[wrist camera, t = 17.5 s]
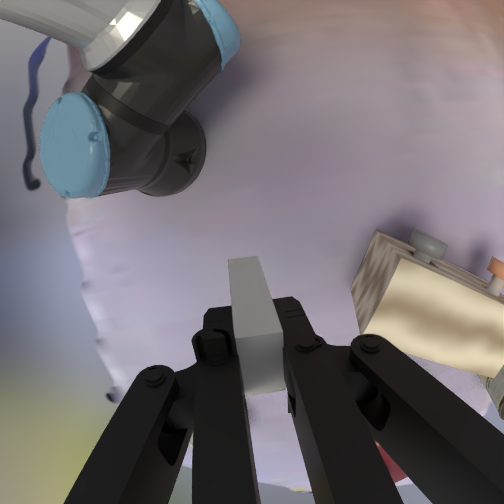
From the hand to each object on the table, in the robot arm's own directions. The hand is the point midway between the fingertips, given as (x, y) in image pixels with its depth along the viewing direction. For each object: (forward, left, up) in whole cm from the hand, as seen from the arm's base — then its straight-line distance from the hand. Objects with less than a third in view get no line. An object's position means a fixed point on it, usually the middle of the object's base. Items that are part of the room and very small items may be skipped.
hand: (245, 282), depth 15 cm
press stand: (+20, +15, -30) cm, 39 cm away
